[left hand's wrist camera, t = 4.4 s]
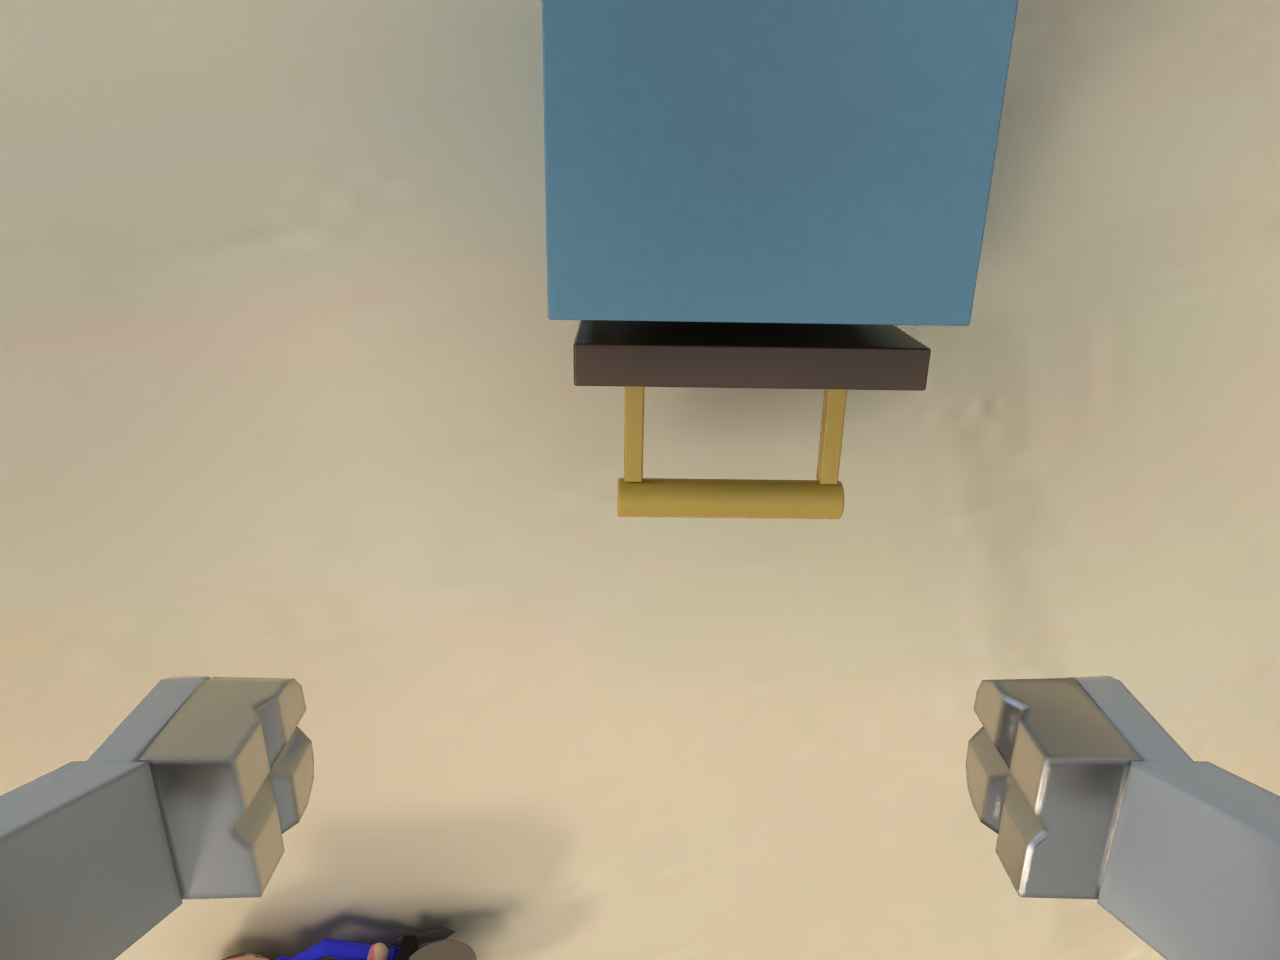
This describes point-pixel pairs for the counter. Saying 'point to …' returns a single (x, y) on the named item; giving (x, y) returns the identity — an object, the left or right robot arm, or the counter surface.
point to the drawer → (743, 362)
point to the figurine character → (383, 949)
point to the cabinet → (770, 158)
